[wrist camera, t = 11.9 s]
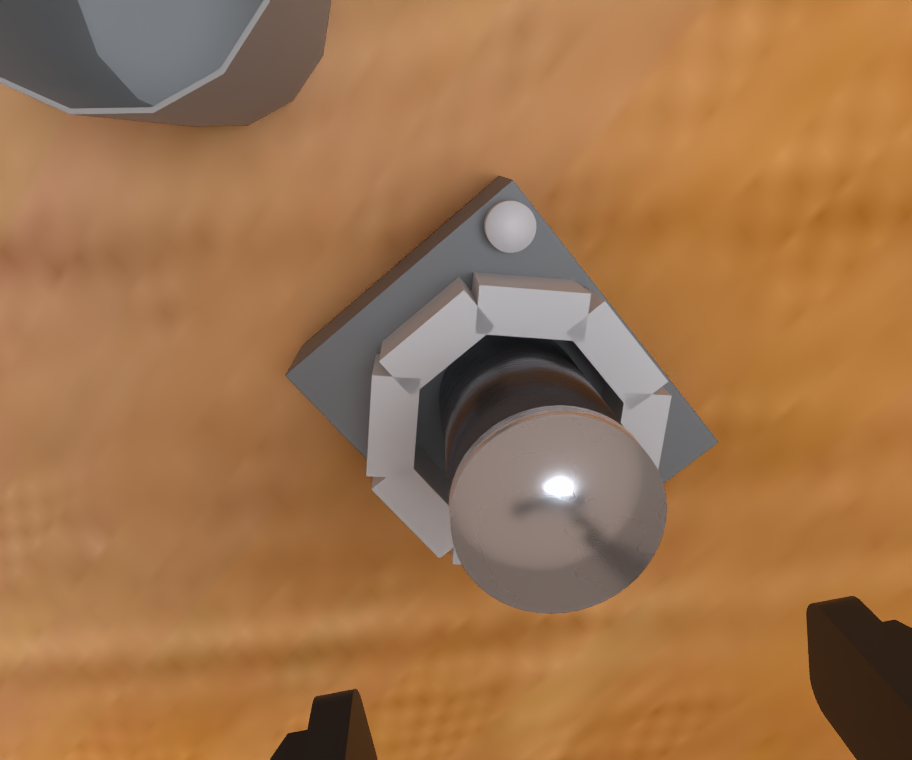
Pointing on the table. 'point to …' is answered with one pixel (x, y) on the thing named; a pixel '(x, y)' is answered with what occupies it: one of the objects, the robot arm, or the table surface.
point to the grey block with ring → (456, 330)
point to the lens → (543, 479)
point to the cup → (162, 56)
